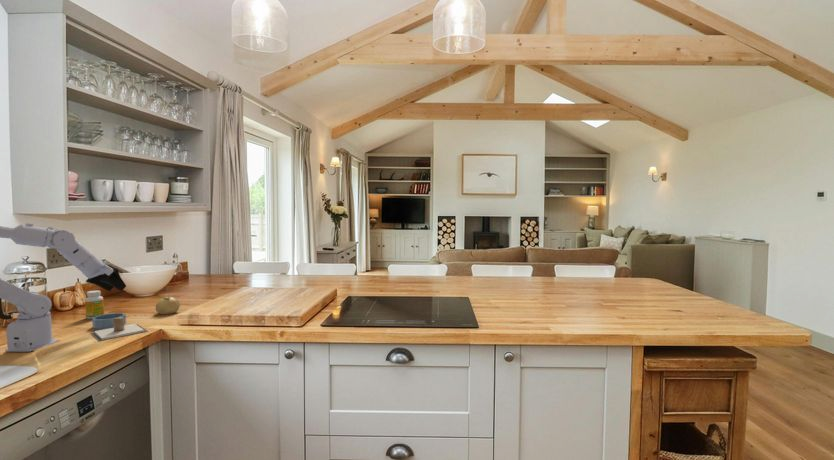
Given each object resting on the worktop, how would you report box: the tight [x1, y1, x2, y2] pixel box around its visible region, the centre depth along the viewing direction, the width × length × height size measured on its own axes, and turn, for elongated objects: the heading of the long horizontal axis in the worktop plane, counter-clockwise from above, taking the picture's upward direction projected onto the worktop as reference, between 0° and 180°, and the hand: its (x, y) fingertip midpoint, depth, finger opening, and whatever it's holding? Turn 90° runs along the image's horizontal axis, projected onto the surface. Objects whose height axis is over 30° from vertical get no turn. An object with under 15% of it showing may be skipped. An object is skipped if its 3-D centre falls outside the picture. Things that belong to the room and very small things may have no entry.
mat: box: [89, 324, 149, 343], centre depth 135 cm, size 13×13×1 cm
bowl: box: [91, 312, 127, 330], centre depth 143 cm, size 9×9×4 cm
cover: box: [93, 317, 144, 341], centre depth 135 cm, size 11×11×5 cm
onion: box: [155, 296, 181, 316], centre depth 160 cm, size 8×8×7 cm
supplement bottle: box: [84, 290, 105, 320], centre depth 156 cm, size 5×5×10 cm
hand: (117, 288), depth 141 cm, fingers open, 7 cm apart
